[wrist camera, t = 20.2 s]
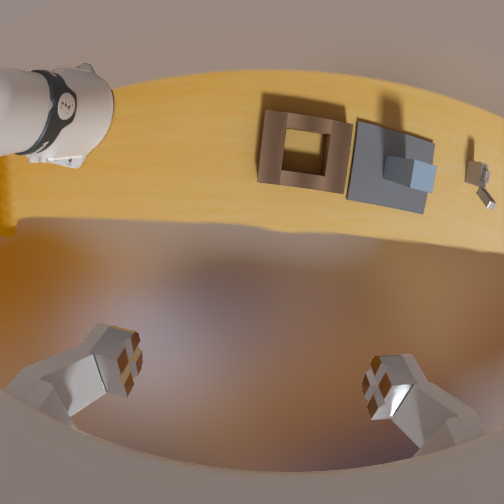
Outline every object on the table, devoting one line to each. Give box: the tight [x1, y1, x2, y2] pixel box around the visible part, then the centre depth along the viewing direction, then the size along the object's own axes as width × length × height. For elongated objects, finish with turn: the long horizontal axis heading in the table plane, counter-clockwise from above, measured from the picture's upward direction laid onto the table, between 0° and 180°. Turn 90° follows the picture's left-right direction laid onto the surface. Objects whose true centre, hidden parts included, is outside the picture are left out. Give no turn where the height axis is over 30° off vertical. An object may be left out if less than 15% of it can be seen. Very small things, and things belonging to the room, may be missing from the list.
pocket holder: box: [257, 110, 353, 194], centre depth 37 cm, size 12×10×3 cm
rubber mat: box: [346, 121, 435, 214], centre depth 38 cm, size 14×12×1 cm
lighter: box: [465, 160, 496, 210], centre depth 34 cm, size 7×2×8 cm, turn 175°
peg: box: [383, 156, 437, 193], centre depth 33 cm, size 4×4×9 cm
